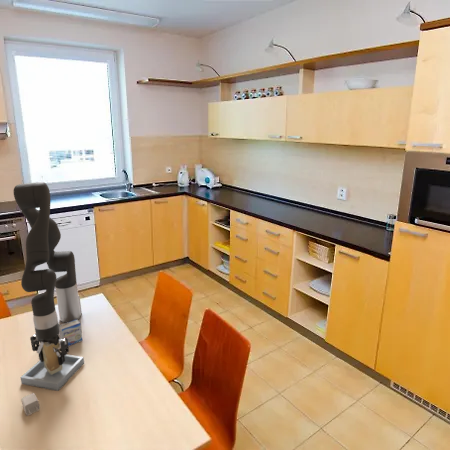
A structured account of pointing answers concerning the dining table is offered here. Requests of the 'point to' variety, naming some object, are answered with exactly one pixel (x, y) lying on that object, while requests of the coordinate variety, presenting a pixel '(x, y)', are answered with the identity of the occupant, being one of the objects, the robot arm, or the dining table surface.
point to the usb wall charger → (30, 404)
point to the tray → (44, 379)
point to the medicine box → (71, 332)
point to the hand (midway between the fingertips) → (52, 362)
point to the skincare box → (51, 358)
